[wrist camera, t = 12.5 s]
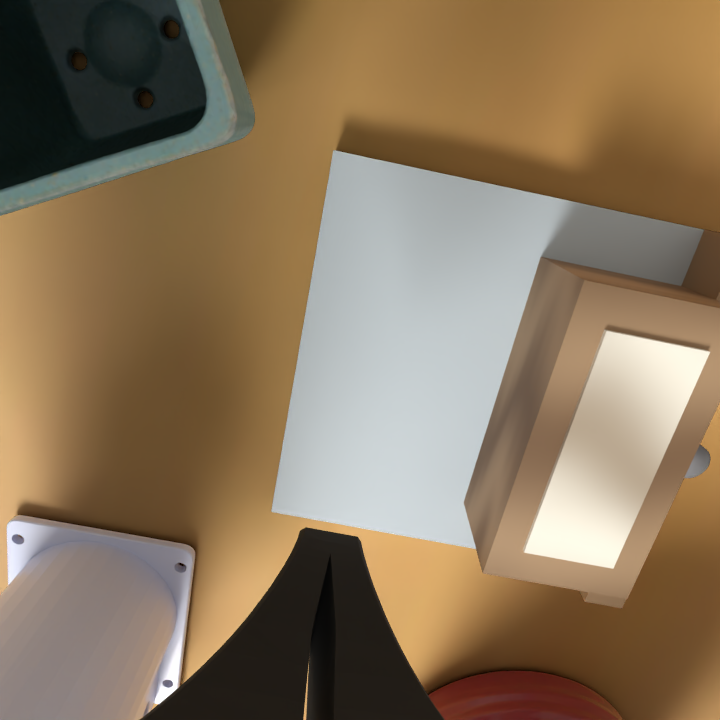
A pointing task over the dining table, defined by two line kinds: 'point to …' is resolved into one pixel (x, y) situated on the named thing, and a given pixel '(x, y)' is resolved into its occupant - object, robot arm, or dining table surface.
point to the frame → (593, 427)
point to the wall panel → (435, 335)
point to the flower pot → (111, 92)
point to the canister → (520, 698)
